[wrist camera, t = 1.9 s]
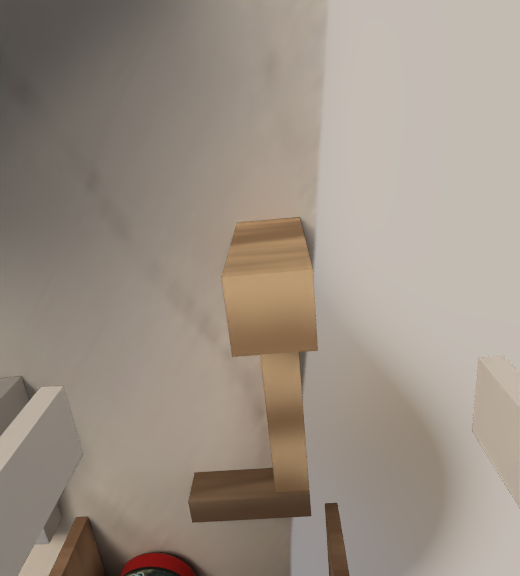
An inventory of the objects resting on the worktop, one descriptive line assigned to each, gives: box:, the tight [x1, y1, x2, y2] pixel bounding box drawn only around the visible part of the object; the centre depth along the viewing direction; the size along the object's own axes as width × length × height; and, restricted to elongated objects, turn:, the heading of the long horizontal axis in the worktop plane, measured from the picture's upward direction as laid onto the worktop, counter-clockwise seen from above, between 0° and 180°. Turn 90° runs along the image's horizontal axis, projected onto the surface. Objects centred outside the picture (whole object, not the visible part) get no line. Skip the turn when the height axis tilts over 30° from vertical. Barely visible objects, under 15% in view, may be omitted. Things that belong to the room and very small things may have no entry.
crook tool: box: [188, 217, 318, 523], centre depth 29 cm, size 22×10×10 cm, turn 6°
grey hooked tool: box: [0, 376, 62, 544], centre depth 34 cm, size 14×4×6 cm, turn 6°
